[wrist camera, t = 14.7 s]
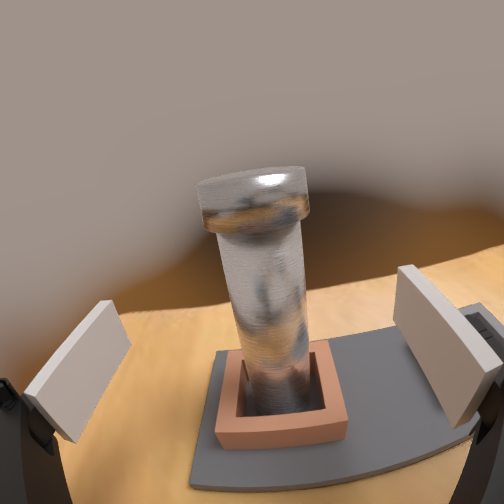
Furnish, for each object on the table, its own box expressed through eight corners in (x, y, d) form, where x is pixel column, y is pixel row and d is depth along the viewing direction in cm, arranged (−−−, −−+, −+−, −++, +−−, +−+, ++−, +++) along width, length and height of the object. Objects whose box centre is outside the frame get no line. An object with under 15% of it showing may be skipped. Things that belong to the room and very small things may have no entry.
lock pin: (313, 376, 20) (297, 163, 14) (321, 426, 16) (313, 172, 10) (251, 382, 21) (207, 176, 15) (248, 432, 16) (182, 191, 10)
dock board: (469, 313, 23) (476, 284, 22) (536, 394, 10) (555, 362, 9) (219, 359, 26) (210, 330, 24) (194, 489, 13) (174, 469, 11)
